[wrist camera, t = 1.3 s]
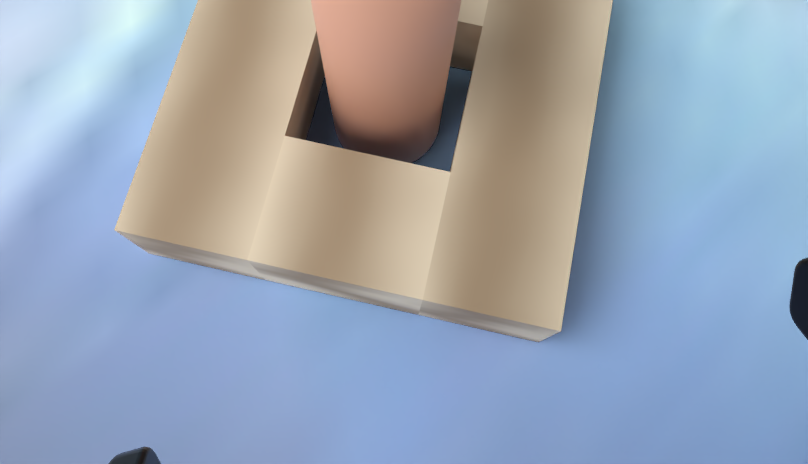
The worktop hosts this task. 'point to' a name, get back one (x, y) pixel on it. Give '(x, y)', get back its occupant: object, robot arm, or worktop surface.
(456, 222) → the pocket block
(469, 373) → the worktop surface
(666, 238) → the worktop surface
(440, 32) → the terracotta peg
